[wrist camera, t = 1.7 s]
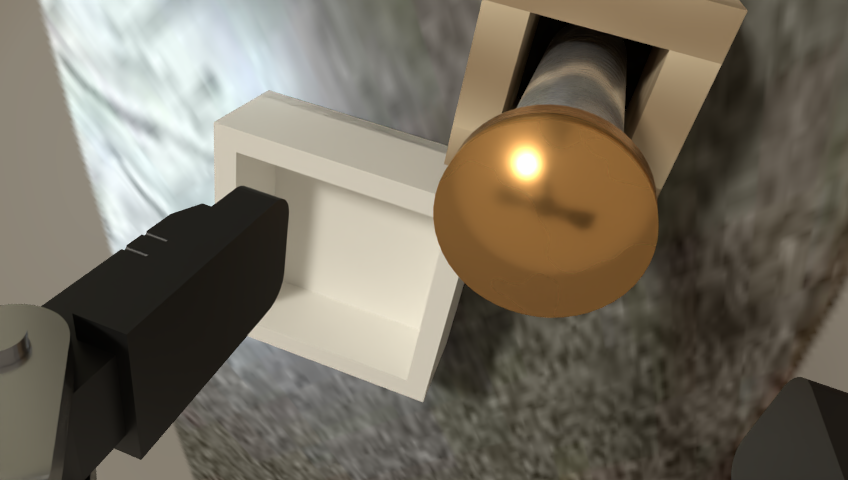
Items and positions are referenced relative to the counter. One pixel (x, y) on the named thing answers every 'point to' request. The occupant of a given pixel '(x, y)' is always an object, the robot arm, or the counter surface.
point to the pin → (553, 189)
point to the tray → (348, 238)
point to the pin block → (618, 15)
